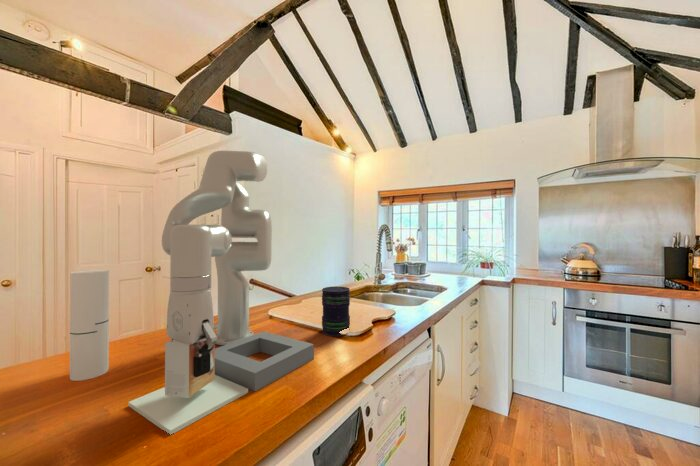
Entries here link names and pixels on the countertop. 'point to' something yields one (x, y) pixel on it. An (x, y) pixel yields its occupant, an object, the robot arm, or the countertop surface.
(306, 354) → the pocket block
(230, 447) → the countertop surface
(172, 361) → the small box
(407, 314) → the countertop surface
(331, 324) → the storage jar
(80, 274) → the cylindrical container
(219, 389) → the sage tile
